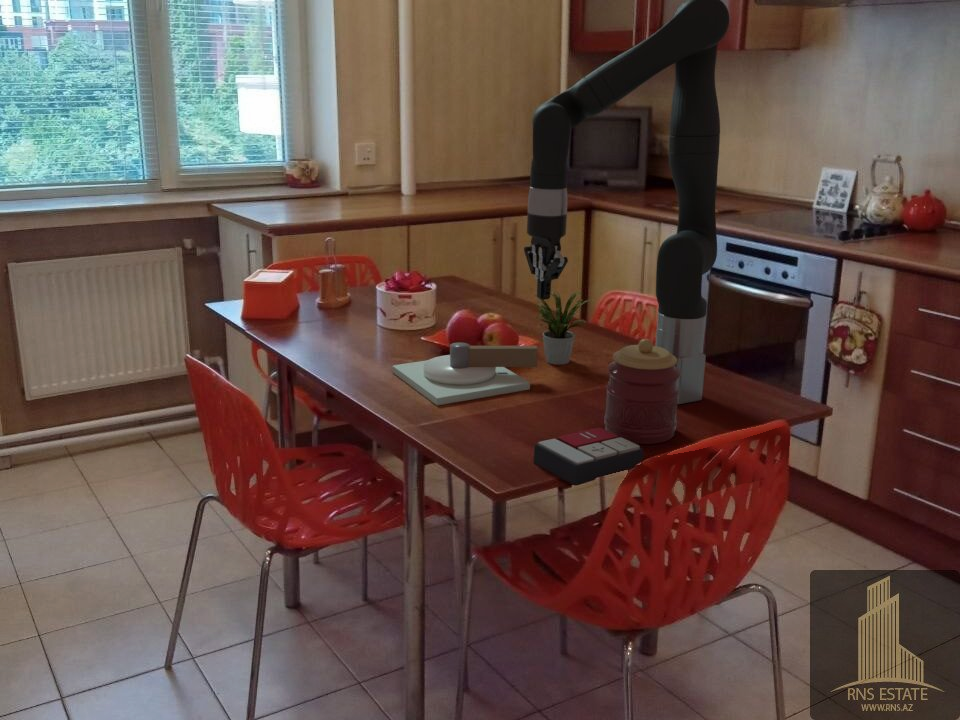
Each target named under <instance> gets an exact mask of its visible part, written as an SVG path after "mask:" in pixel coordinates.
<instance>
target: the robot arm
mask: <svg viewBox="0 0 960 720" xmlns="http://www.w3.org/2000/svg"><path fill="white" fill-rule="evenodd" d="M729 26H730V13H729V9H728V7H727V5H726V4H725V3H724V1H722V0H686V1H684V2H683V3H681V5H679V7H678V8H677V9H676V11H675V13H674V15H673V16H672V18H670V20H668V21H667V22H666V23H665V24H663V26H661V27H660V28H659V29H657V31H656V32H654V33H652V34H651V35H650V36H649V37H647V38H645V39H644V40H642V41H641V42H639V43H638V44H636V45H634V46H632V47H631V48H630V49H628V50H626V51H624V52H622V53H620V54H619V55H616V57H614V58H611V59H610V60H608V61H606V62H605V63H603V64H602V65H600V66H599V67H597V68H596V69H595V70H593V71H592V72H590V73H588V74H587V75H585V76H584V77H582V78H581V79H580V80H579V81H577V82H576V83H575V84H573V85H572V86H571V87H570V88H568V89H566V90H564V91H562V92H560V93H559V94H557V95H555V96H553V97H552V98H550V99H549V100H547V101H545V102H543V103H542V104H541V105H539V106H538V107H537V108H536V109H535V111H534V113H533V115H532V118H531V123H532V159H531V165H530V176H529V177H530V178H529V192H528V197H527V219H526V220H527V221H526V222H527V223H526V234H527V235H528V236H530V237H531V239H530V245H529V246H524V248H523V252H524V255H525V258H526V261H527V264H528V267H529V268H528V269H529V270H530V273H531V275H534V277H535V280H536V283H537V285H536V297H537V299H539V300H540V299H541V300H544V301H545V300H549V299H550V298H551V295H552V293H551V291H552V290H551V288H552V281H554V280H558V279H559V278H560V276H561V274H562V272H563V271H564V270H565V268H566V266H567V264H568V261H569V259H568V257H567V256H563V255H562V253H561V251H562V246H561V239H562V238H563V237H564V236H566V233H567V219H568V218H567V217H568V175H569V174H568V170H569V168H568V167H569V166H568V154H569V149H570V148H569V147H570V139H571V130H572V129H574V128H575V127H577V126H578V125H580V124H582V122H584V121H586V120H587V119H589V118H592V117H595V116H597V115H599V114H600V113H602V112H604V111H606V110H607V109H608V108H610V107H612V106H613V105H615V104H616V103H617V102H619V101H620V100H623V98H625V97H626V96H628V95H629V94H631V93H632V92H633V91H634V90H636V89H638V88H639V87H640V86H642V85H643V84H645V83H646V82H647V81H649V80H650V79H651V78H653V77H654V76H656V75H657V74H659V73H661V72H662V71H663V70H666V69H667V68H668V67H669V68H670V66H672V65H673V64H674V85H673V93H672V99H671V100H672V101H671V111H670V122H669V123H670V124H669V133H668V136H669V138H668V163H669V169H670V174H671V177H672V178H671V179H672V182H673V183H674V188H675V192H676V195H677V200H678V202H677V203H678V215H677V216H678V218H677V228H676V233H675V234H673V235H671V236H668V237H667V238H666V239H664V240H663V242H662V243H661V245H660V246H659V249H658V254H657V258H656V259H657V260H656V272H655V273H656V274H655V275H656V277H655V297H656V300H657V303H658V307H657V308H658V311H657V321H656V323H657V324H656V335H655V346H657V347H661V348H664V349H666V350H667V351H669V353H671V354H672V355H674V356H675V357H676V358H677V363H676V364H675V366H676V367H677V368H678V369H679V370H680V372H681V376H680V377H679V378H678V379H677V387H678V388H679V394H678V401H677V405H682V404H687V403H693V402H698V401H702V399H703V388H704V377H705V367H706V359H707V358H706V354H704V353H703V349H704V338H705V330H706V329H705V328H706V318H707V310H708V309H707V308H708V304H707V303H708V302H707V300H706V299H705V298H704V297H703V296H702V287H703V285H702V283H703V275H705V274H706V273H708V272H709V271H710V270H711V269H712V268H713V267H714V265H715V263H716V260H717V256H718V236H717V221H716V199H717V198H716V196H717V187H718V172H719V171H718V169H719V156H720V144H721V143H720V142H721V119H720V111H719V110H720V109H719V101H718V96H717V91H716V90H717V89H716V79H715V78H716V75H715V74H716V65H717V64H716V63H717V54H718V45H719V43H720V42H721V41H722V40H723V38H724V37H725V35H726V34H727V32H728V29H729ZM541 300H540V301H541Z"/></svg>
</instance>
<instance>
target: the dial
mask: <svg viewBox="0 0 960 720" xmlns="http://www.w3.org/2000/svg"><path fill="white" fill-rule="evenodd" d="M425 361H426V360H425ZM496 367H505V368H537V367H538V346H537V345H471V344H469V343H467V342H453V343H451V344H450V345H449V354H447V355H446V354H445V355H440V356H436V357H432V358H430V359H428V361H426V362H425V363H424V375H425V376H426V377H427V378H428V379H430V380H433V381H436V382H440V383H445V384H456V385H465V384H475V383H481V382H484V381H487V380H490V379H492V378H493V377H494V376H495V374H496Z"/></svg>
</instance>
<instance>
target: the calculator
mask: <svg viewBox="0 0 960 720" xmlns="http://www.w3.org/2000/svg"><path fill="white" fill-rule="evenodd" d="M533 450H534V452H533V461H532V462H533V464H534V465H536V466H537V467H540V468H542V469H543V470H546V471H547V472H549V473H551V474H553V475H555V476H556V477H558V478H560V479H561V480H563V481H565V482H567V483H569V484H571V485H572V486H575V487H576V486H580V485H582V484H587V483H589V482H590V483H591V482H592V481H595V480H596V479H597V478H601V477H605V476H608V475H612V474H616V473H619V472H623V471H626V470H629V469H632V468H635V467H634V466H635V465H636V464H638V463H640V462H642V463H643V456H644V449H643V448H642V447H641V446H640V444H637V443H632V442H630V441H628V440H626V439H624V438H621V437H620V438H618V436H617V435H615V434H613V433H611V432H609V431H607V430H605V428H603V427H597V428H591V429H587V430H582V431H578V432H574V433H573V432H572V433H569V434H564V435H559V436H557V438H551V439H547V440H541V441H538V442H536V443H534V449H533Z"/></svg>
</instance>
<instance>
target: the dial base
mask: <svg viewBox="0 0 960 720" xmlns="http://www.w3.org/2000/svg"><path fill="white" fill-rule="evenodd" d="M428 360H429V359H428ZM428 360H421V361H415V362H414V361H413V362H407V363H401V364H394V365H392V366H391V368H392V370H391V371H392V373H393V374H394V375H395V376H397V377H398V378H400V380H402V381H403V382H405V383H406V384H407V385H409V386H410V387H412V388H413V389H414V390H415V391H417V392H418V393H420V394H421V395H422V396H424V397H425V398H426V399H428V400H429V401H430V402H431V403H433V404H434V405H436V406H443V405H447V404H453V403H459V402H465V401H470V400H477V399H482V398H487V397H494V396H498V395H499V396H500V395H505V394H512V393H517V392H523V391H527V390H530V389H531V382H530V381H529V380H527V379H525V378H523V376H521V375H518V374H516V373H514V372H513V371H512V370H510V369H508V368H507V367H496V374H495V376H494V377H493V378H492V379H490V380H487V381H484V382H481V383H475V384H465V385H456V384H445V383H440V382H436V381H433V380H430V379H428V378H427V377H426V376H425V375H424V363H425V362H426V361H428Z"/></svg>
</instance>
